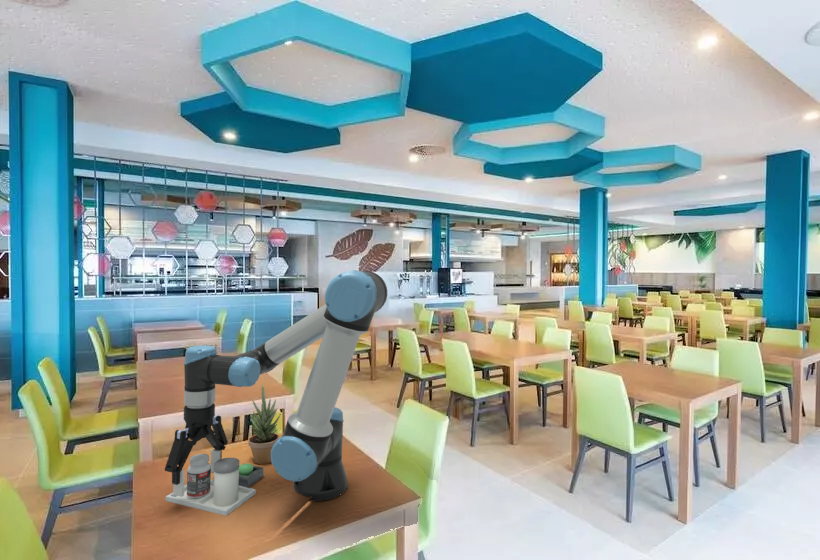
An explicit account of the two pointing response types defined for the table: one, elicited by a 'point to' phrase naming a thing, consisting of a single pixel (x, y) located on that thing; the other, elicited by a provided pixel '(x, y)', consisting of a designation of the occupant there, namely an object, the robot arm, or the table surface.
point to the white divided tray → (211, 500)
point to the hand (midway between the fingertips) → (198, 483)
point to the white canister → (226, 481)
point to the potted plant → (263, 432)
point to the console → (251, 477)
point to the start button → (245, 469)
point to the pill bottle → (198, 476)
